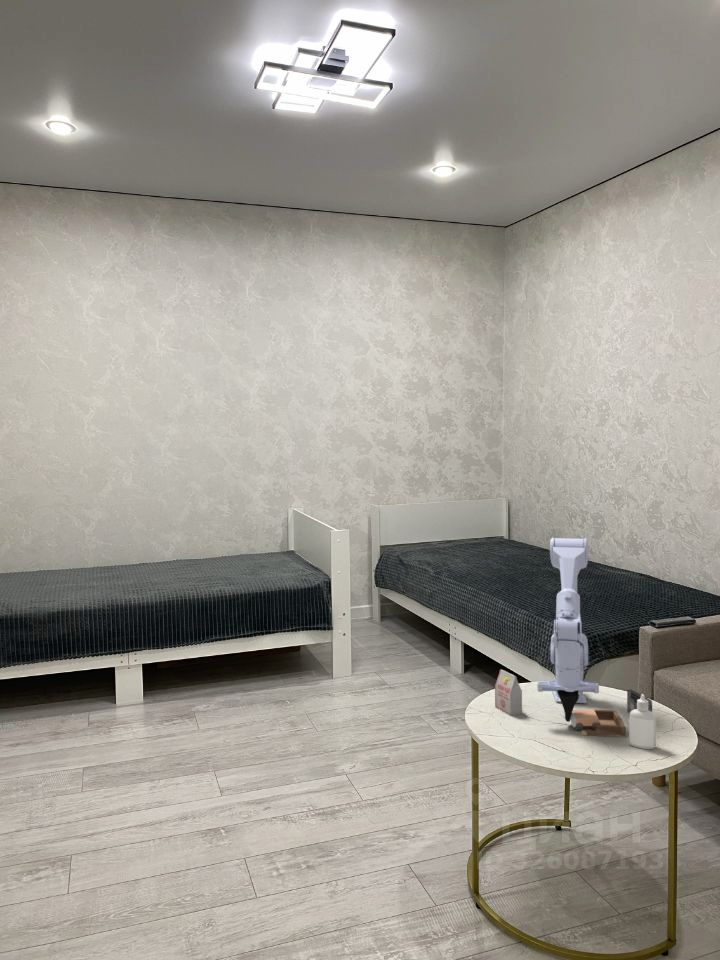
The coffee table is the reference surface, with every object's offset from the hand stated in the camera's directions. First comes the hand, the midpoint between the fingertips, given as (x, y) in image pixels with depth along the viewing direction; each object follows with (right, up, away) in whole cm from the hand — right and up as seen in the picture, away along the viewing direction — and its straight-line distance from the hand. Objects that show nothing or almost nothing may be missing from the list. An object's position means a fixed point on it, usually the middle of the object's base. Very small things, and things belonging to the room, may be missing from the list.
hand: (567, 720), depth 184 cm
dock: (+8, -1, -1) cm, 8 cm away
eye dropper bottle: (+14, -2, -12) cm, 19 cm away
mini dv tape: (+19, -1, +5) cm, 20 cm away
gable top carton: (-12, -1, +11) cm, 17 cm away
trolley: (+4, -1, -1) cm, 4 cm away
